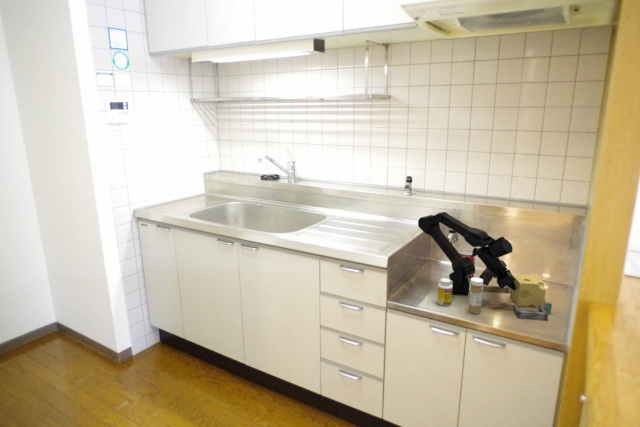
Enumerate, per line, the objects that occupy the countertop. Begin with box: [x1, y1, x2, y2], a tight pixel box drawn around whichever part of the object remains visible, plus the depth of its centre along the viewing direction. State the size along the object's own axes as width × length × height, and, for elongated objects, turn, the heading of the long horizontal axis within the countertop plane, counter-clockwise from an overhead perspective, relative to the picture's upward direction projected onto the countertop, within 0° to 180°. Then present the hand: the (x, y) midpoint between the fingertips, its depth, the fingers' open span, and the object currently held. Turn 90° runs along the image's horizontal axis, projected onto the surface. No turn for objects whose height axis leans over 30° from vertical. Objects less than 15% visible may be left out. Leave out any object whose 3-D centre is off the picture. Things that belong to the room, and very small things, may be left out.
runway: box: [482, 284, 553, 321], centre depth 171 cm, size 22×29×4 cm
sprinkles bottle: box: [468, 276, 483, 315], centre depth 162 cm, size 5×5×13 cm
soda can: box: [459, 249, 476, 283], centre depth 193 cm, size 7×7×13 cm
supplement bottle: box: [436, 277, 453, 307], centre depth 170 cm, size 6×6×10 cm
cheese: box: [509, 274, 547, 308], centre depth 170 cm, size 10×11×10 cm
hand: (515, 289), depth 168 cm, fingers closed
